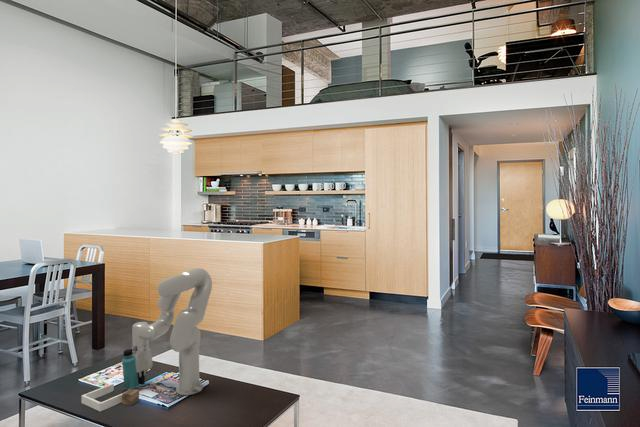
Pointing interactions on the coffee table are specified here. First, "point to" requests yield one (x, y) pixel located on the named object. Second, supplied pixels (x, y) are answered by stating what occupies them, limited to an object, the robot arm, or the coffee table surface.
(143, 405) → the coffee table surface
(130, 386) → the beverage bottle
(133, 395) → the walnut block
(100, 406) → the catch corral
